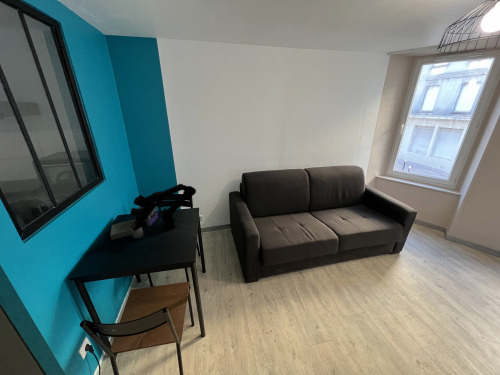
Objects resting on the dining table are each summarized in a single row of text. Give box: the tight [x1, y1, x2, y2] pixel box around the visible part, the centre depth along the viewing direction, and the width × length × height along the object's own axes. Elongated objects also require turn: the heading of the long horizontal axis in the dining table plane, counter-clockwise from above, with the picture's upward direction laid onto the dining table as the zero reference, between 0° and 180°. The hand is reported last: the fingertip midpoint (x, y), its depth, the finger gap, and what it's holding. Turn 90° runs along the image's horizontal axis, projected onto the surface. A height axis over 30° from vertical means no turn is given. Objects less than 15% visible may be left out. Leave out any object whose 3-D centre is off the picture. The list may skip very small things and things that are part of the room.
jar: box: [130, 223, 145, 239], centre depth 130 cm, size 6×6×8 cm
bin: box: [110, 218, 136, 241], centre depth 139 cm, size 15×15×4 cm
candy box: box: [137, 206, 159, 227], centre depth 149 cm, size 14×6×16 cm, turn 179°
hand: (133, 227), depth 128 cm, fingers closed on jar, 6 cm apart
